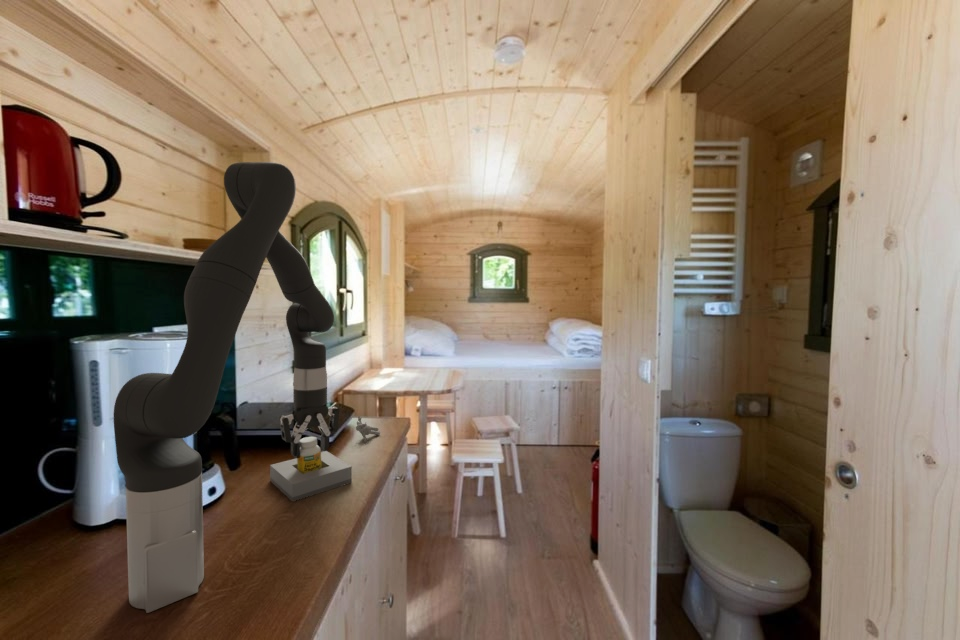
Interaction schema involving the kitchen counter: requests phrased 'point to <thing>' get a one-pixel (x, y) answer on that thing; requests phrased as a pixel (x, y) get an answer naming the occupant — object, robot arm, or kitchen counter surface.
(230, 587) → the kitchen counter surface
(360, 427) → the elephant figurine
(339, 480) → the socket block
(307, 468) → the supplement bottle
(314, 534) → the kitchen counter surface
